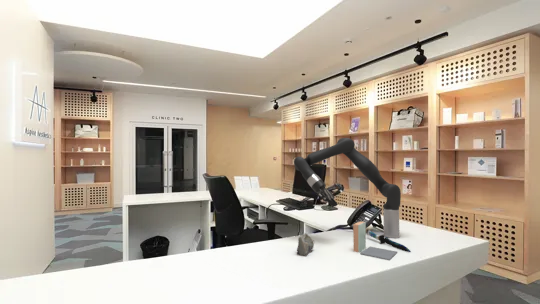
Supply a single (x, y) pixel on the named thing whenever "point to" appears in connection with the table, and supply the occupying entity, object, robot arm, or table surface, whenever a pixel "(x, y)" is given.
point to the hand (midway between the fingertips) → (335, 205)
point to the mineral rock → (304, 245)
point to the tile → (359, 236)
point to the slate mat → (379, 253)
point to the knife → (387, 241)
